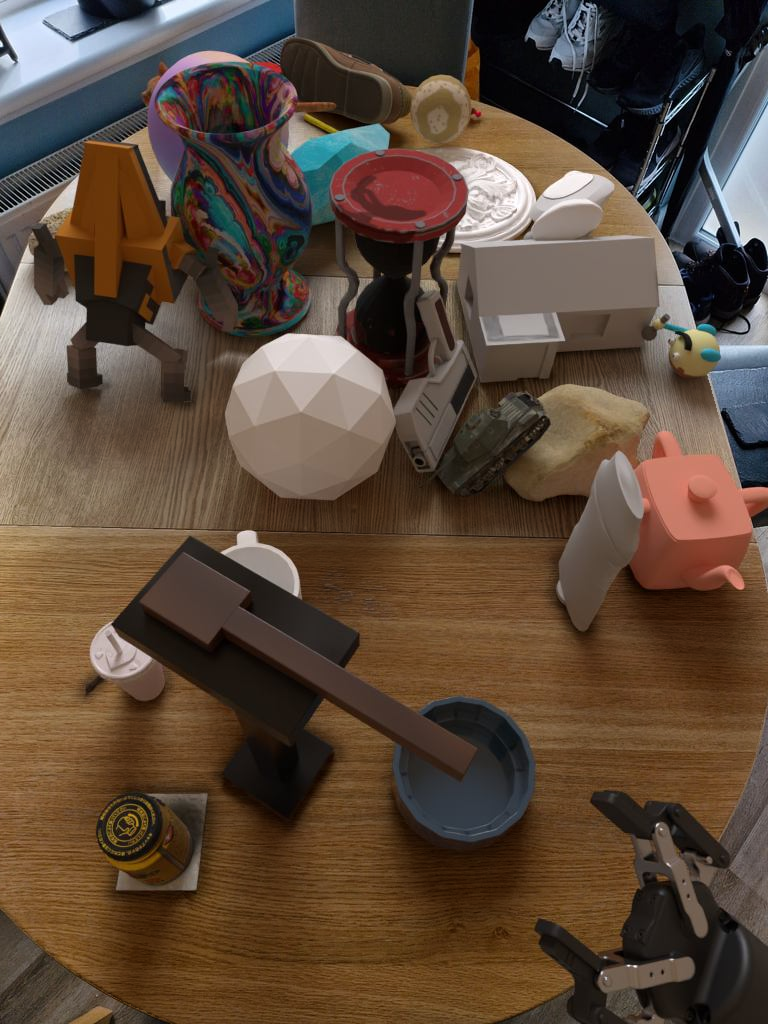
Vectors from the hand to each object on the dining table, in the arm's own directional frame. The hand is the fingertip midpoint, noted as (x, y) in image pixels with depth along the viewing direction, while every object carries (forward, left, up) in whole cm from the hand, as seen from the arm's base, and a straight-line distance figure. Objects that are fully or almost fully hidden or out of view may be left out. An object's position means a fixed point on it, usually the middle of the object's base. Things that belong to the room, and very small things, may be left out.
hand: (573, 858), depth 46 cm
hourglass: (+56, +45, -27) cm, 77 cm away
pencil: (+97, +81, -28) cm, 129 cm away
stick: (-1, +47, -27) cm, 54 cm away
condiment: (-11, +30, -28) cm, 42 cm away
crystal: (+60, +71, -22) cm, 96 cm away
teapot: (+44, 0, -28) cm, 52 cm away
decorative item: (+45, +91, -27) cm, 105 cm away
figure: (+109, +72, -24) cm, 133 cm away
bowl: (+8, +9, -27) cm, 30 cm away
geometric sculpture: (+33, +43, -27) cm, 60 cm away
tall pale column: (+33, +7, -27) cm, 44 cm away
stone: (+51, +16, -27) cm, 60 cm away
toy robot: (+30, +70, -27) cm, 81 cm away
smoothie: (0, +42, -28) cm, 50 cm away
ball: (+75, +80, -7) cm, 110 cm away
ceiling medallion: (+91, +55, -27) cm, 110 cm away
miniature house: (+72, +28, -27) cm, 82 cm away
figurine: (+74, +8, -20) cm, 77 cm away
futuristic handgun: (+47, +39, -13) cm, 62 cm away
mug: (+12, +36, -28) cm, 47 cm away
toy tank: (+43, +23, -24) cm, 55 cm away
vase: (+53, +67, -27) cm, 90 cm away
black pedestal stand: (0, +25, -27) cm, 37 cm away
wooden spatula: (0, +19, +5) cm, 20 cm away
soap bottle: (+79, +31, -16) cm, 86 cm away
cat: (+78, +86, -27) cm, 120 cm away
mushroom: (+113, +65, -22) cm, 132 cm away
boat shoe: (+101, +86, -22) cm, 134 cm away
